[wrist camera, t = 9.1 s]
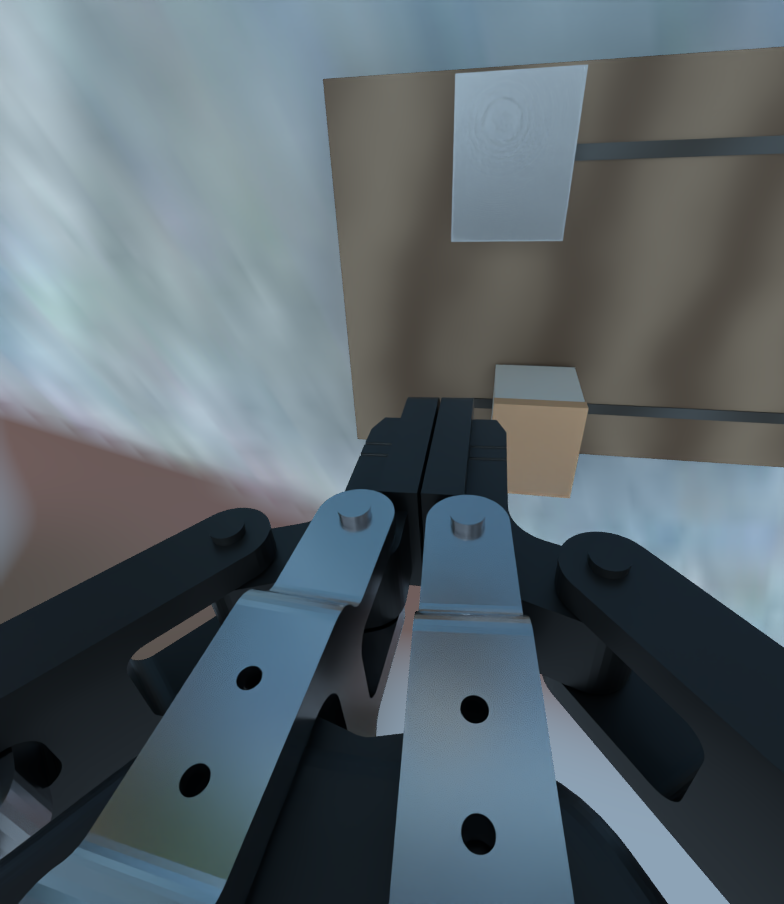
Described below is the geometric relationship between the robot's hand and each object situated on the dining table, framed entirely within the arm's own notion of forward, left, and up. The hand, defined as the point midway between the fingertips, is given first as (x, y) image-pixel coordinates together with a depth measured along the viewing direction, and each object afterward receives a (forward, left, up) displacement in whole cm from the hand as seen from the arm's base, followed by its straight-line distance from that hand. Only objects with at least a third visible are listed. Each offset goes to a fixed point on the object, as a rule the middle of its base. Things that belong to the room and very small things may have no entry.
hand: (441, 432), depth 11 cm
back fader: (-4, +7, -15) cm, 17 cm away
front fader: (-1, -5, -15) cm, 16 cm away
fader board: (-5, +1, -17) cm, 18 cm away
